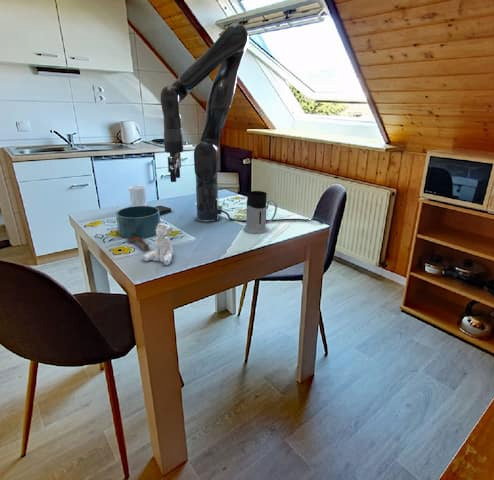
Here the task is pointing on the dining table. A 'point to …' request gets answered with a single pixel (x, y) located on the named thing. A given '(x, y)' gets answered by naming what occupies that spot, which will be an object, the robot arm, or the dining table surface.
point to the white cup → (137, 195)
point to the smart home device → (163, 209)
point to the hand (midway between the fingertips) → (175, 179)
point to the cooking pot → (138, 221)
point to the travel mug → (257, 212)
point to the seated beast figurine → (161, 245)
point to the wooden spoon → (138, 242)
